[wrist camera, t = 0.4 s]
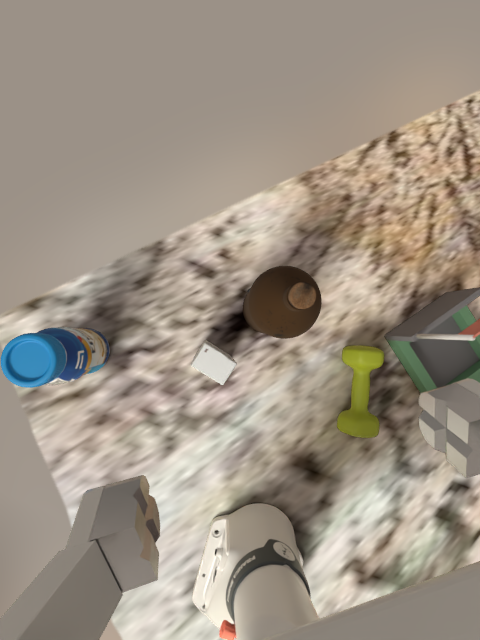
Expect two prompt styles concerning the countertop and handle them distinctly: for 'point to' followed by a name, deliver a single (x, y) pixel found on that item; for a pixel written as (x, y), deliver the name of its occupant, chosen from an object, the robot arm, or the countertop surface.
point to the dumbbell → (360, 391)
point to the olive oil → (282, 302)
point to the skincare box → (213, 362)
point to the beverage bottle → (54, 356)
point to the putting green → (440, 342)
